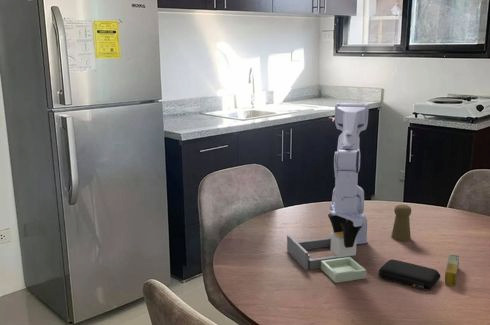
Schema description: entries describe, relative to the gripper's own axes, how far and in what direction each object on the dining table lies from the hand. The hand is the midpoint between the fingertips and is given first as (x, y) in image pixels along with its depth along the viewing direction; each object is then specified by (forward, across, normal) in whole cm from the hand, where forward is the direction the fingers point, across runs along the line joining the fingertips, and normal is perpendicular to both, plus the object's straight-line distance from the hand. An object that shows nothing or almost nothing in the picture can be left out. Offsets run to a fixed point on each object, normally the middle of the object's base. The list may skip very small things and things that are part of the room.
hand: (343, 243), depth 131 cm
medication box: (+9, +10, +27) cm, 30 cm away
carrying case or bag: (+9, +8, +15) cm, 19 cm away
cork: (+9, -18, +30) cm, 36 cm away
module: (+3, 0, 0) cm, 3 cm away
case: (+9, -12, 0) cm, 15 cm away
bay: (+9, 0, 0) cm, 9 cm away
